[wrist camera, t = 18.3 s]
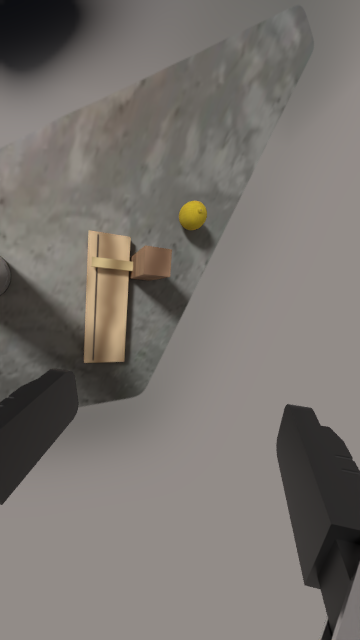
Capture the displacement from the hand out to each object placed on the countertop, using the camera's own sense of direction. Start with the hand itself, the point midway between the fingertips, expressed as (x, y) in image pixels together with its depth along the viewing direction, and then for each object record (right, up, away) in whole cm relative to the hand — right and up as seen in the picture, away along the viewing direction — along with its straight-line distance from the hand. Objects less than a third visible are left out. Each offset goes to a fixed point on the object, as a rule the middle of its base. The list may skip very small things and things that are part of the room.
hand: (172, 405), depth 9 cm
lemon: (+1, +26, +46) cm, 52 cm away
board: (-15, +8, +41) cm, 44 cm away
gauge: (-12, +14, +41) cm, 45 cm away
